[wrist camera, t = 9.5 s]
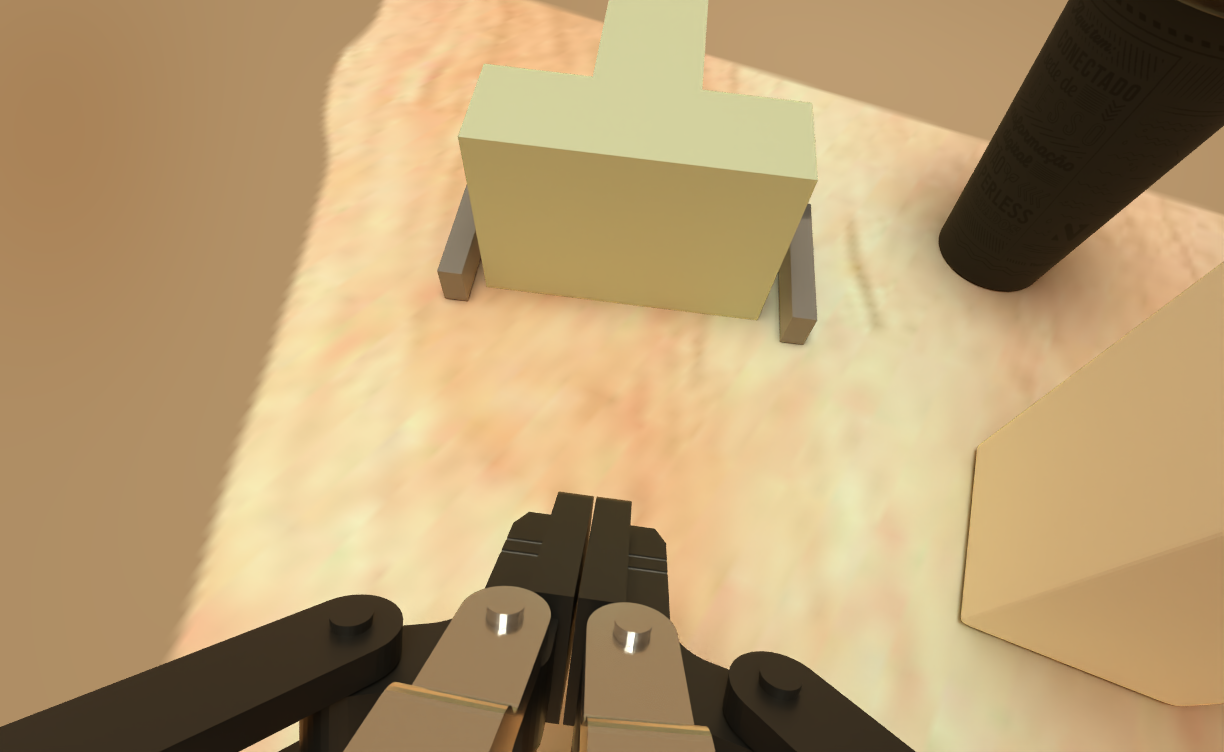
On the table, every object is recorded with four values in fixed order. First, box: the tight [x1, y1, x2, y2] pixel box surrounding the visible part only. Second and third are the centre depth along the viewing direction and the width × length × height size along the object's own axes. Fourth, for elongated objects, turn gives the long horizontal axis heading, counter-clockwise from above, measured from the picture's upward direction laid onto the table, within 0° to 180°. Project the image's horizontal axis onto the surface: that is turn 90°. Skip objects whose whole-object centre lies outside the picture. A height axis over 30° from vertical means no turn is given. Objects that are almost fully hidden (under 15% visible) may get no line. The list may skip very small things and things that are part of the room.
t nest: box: [437, 185, 817, 344], centre depth 30 cm, size 16×13×2 cm
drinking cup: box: [939, 0, 1224, 291], centre depth 22 cm, size 8×8×20 cm
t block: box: [458, 0, 818, 320], centre depth 27 cm, size 12×10×8 cm
